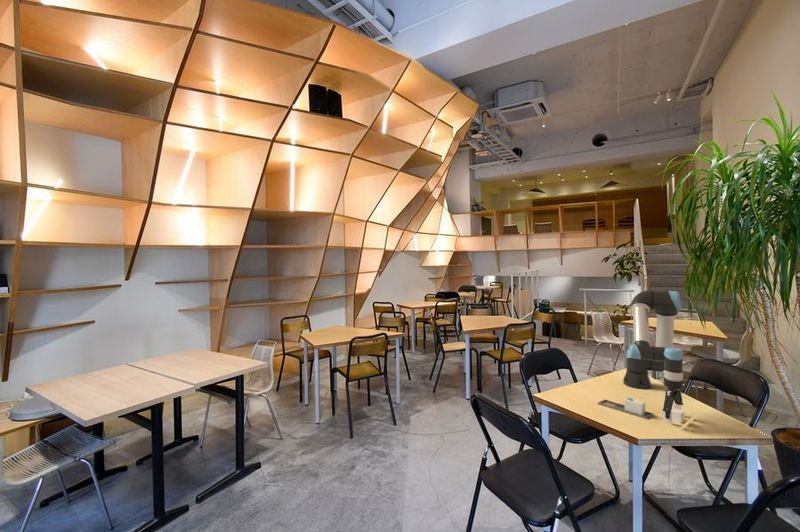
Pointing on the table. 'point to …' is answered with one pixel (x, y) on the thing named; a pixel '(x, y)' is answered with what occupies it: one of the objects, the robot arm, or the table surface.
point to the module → (675, 415)
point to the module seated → (635, 406)
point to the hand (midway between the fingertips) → (672, 420)
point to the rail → (622, 408)
